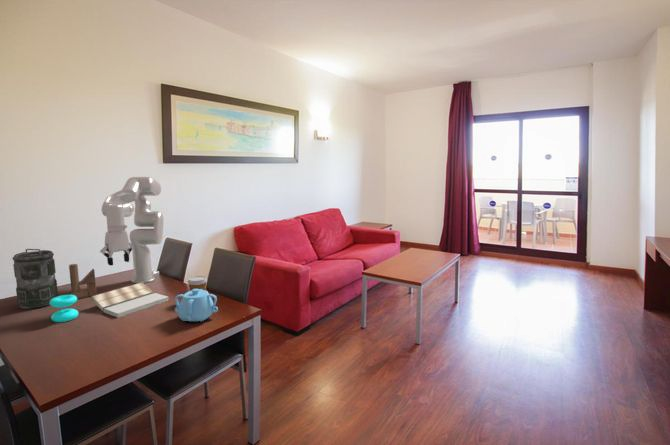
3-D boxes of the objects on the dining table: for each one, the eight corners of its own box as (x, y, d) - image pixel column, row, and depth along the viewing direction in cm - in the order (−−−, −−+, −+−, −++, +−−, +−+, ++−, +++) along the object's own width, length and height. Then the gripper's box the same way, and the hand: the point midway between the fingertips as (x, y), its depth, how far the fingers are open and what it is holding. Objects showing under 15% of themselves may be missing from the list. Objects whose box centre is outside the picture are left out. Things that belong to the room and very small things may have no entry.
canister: (9, 309, 177) (2, 252, 173) (35, 297, 193) (29, 245, 189) (42, 309, 177) (36, 252, 173) (66, 298, 193) (60, 245, 189)
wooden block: (96, 295, 198) (93, 262, 195) (72, 299, 191) (68, 266, 188) (95, 293, 201) (92, 261, 198) (71, 297, 194) (68, 264, 191)
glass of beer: (197, 296, 198) (196, 274, 196) (212, 298, 195) (211, 276, 193) (184, 302, 189) (183, 279, 187) (199, 305, 186) (198, 282, 184)
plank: (142, 285, 202) (142, 282, 202) (153, 295, 198) (153, 291, 198) (91, 299, 180) (91, 296, 180) (102, 311, 176) (102, 307, 175)
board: (154, 296, 198) (154, 291, 197) (168, 300, 192) (168, 295, 191) (103, 312, 176) (103, 307, 175) (118, 317, 170) (117, 312, 169)
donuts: (82, 294, 171) (63, 302, 161) (84, 315, 172) (65, 324, 162) (63, 293, 172) (43, 300, 162) (65, 313, 174) (45, 322, 164)
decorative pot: (172, 316, 172) (170, 288, 170) (206, 308, 182) (205, 281, 180) (185, 328, 160) (183, 298, 158) (220, 318, 170) (219, 290, 168)
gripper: (129, 225, 194) (131, 258, 197) (93, 230, 179) (96, 266, 182) (137, 227, 190) (139, 260, 193) (102, 232, 176) (105, 268, 178)
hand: (118, 263), depth 187 cm, fingers open, 7 cm apart
